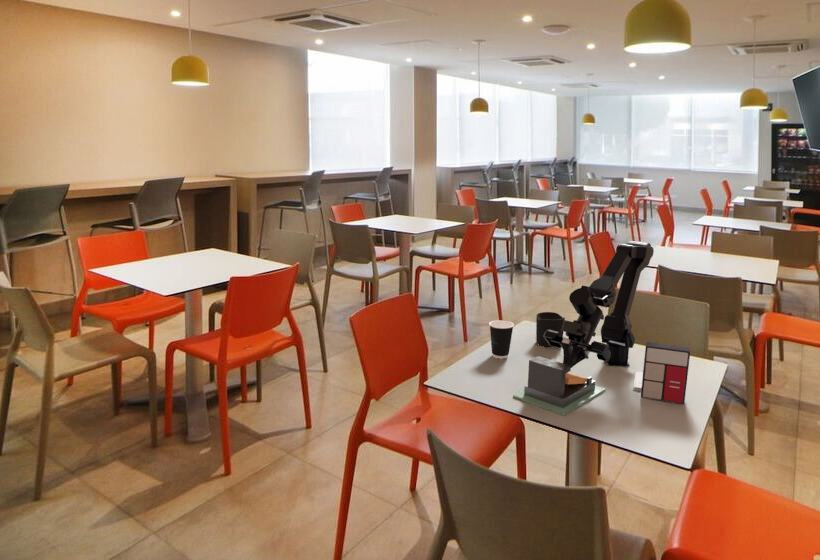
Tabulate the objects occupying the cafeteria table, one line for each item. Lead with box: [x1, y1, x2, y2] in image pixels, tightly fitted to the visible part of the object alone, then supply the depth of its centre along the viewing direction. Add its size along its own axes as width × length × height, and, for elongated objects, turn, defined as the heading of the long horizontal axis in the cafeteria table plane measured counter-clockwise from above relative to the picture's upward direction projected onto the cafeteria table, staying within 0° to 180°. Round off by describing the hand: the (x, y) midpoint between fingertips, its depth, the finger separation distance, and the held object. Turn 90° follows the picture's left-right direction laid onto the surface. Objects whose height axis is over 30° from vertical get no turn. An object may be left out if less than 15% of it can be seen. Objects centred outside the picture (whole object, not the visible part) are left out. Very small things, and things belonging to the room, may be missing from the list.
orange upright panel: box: [565, 372, 587, 384], centre depth 170 cm, size 2×10×11 cm
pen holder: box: [535, 311, 566, 348], centre depth 210 cm, size 9×9×10 cm
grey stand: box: [523, 355, 596, 408], centre depth 170 cm, size 17×12×10 cm
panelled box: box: [640, 342, 691, 405], centre depth 166 cm, size 11×4×15 cm, turn 67°
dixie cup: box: [488, 319, 515, 360], centre depth 198 cm, size 8×8×11 cm
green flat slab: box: [512, 385, 606, 417], centre depth 171 cm, size 22×16×1 cm
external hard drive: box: [632, 371, 643, 392], centre depth 178 cm, size 2×8×12 cm
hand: (564, 370), depth 171 cm, fingers closed
